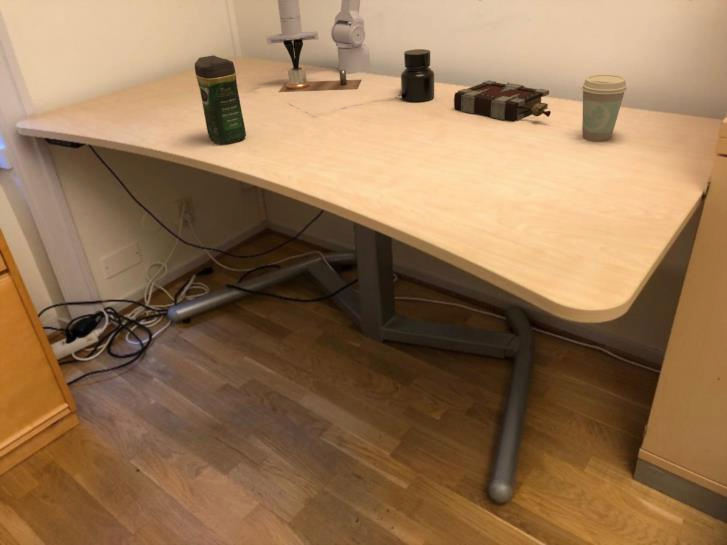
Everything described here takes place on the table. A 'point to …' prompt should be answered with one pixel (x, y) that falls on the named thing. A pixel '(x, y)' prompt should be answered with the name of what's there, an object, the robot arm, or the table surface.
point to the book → (501, 101)
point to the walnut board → (325, 86)
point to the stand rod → (343, 77)
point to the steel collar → (297, 76)
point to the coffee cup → (601, 105)
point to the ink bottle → (417, 76)
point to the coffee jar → (220, 99)
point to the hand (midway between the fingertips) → (295, 67)
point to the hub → (297, 85)
